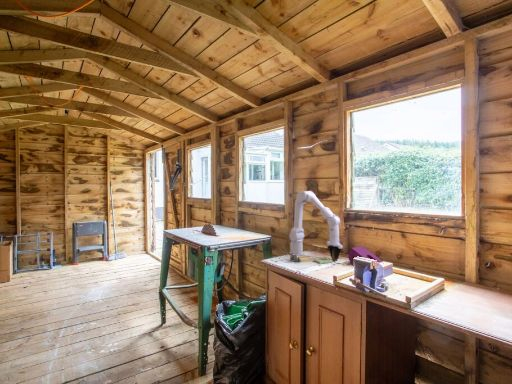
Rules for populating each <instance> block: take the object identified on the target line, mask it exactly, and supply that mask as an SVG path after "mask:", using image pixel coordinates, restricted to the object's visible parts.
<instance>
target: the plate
mask: <svg viewBox="0 0 512 384" xmlns="http://www.w3.org/2000/svg"><path fill="white" fill-rule="evenodd" d="M299 262H300V263H305V262H307V263H308V262H313V257H311V256H309V255H307V254H305V255H299ZM299 262H298V263H299Z"/></svg>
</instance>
